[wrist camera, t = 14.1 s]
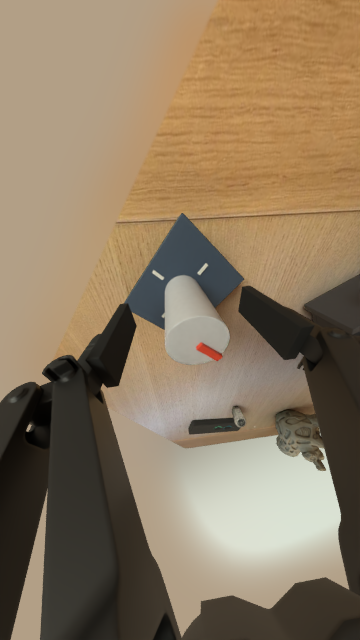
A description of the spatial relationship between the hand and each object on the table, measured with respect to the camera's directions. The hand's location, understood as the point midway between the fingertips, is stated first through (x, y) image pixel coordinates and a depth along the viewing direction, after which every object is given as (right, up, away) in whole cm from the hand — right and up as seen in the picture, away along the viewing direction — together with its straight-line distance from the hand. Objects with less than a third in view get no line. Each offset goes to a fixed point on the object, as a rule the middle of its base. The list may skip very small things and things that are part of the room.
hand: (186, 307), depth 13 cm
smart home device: (+13, -40, +37) cm, 56 cm away
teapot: (+39, -36, +37) cm, 65 cm away
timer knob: (0, +2, +3) cm, 4 cm away
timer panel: (-1, +4, +6) cm, 7 cm away
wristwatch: (+18, -31, +31) cm, 47 cm away
